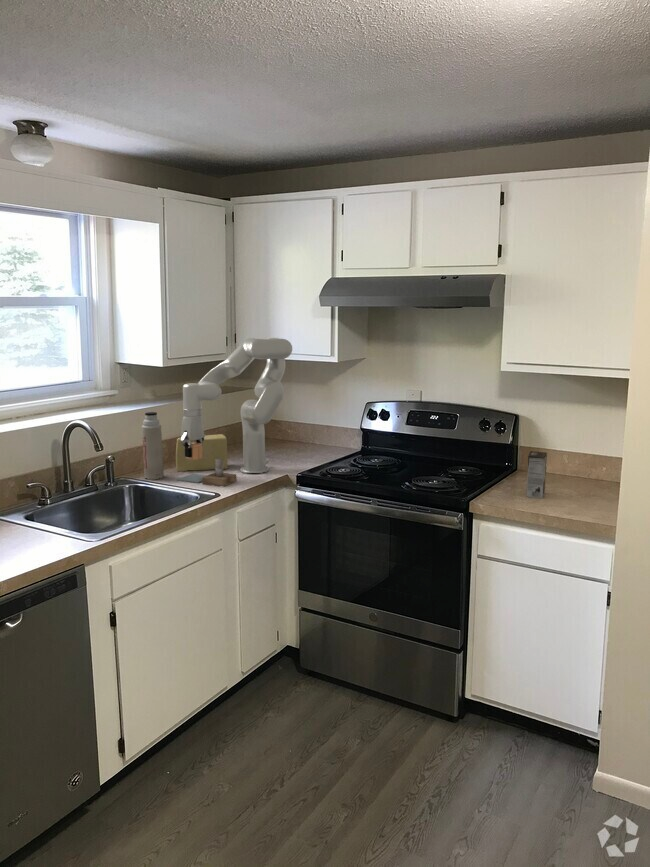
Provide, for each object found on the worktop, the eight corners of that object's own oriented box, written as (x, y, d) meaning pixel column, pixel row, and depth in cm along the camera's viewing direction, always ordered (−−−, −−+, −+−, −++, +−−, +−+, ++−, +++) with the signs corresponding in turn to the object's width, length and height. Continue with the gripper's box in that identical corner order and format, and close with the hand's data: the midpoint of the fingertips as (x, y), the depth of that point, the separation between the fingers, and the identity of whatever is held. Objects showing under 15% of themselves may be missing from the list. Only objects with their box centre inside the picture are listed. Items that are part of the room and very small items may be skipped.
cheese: (178, 473, 314) (176, 440, 312) (175, 469, 323) (173, 436, 321) (228, 469, 321) (227, 436, 319) (223, 465, 331) (222, 432, 328)
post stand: (216, 478, 304) (215, 455, 303) (236, 481, 300) (235, 457, 298) (202, 484, 296) (201, 460, 294) (222, 486, 291) (222, 462, 289)
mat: (192, 474, 312) (192, 473, 311) (213, 477, 307) (213, 476, 307) (176, 480, 302) (176, 479, 302) (198, 483, 297) (198, 481, 297)
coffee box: (528, 491, 282) (530, 450, 279) (545, 492, 279) (547, 452, 277) (525, 497, 273) (527, 455, 271) (543, 498, 271) (545, 456, 268)
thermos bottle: (145, 480, 303) (142, 414, 298) (143, 476, 310) (139, 411, 305) (164, 478, 306) (161, 413, 300) (162, 474, 313) (159, 410, 308)
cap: (204, 457, 304) (204, 443, 303) (196, 460, 298) (196, 445, 297) (192, 456, 306) (192, 442, 306) (183, 458, 301) (183, 444, 300)
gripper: (197, 410, 308) (198, 451, 312) (172, 415, 293) (173, 458, 296) (212, 411, 305) (213, 452, 308) (187, 416, 290) (188, 460, 293)
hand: (193, 455), depth 302 cm, fingers closed on cap, 6 cm apart
